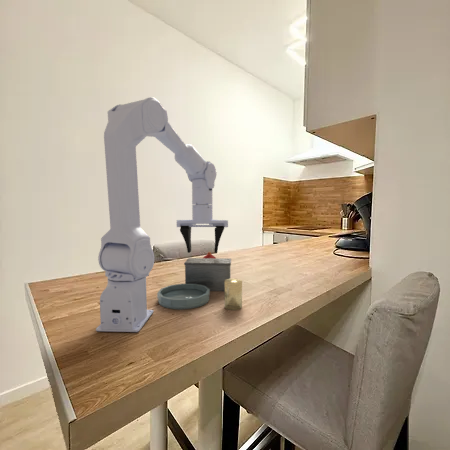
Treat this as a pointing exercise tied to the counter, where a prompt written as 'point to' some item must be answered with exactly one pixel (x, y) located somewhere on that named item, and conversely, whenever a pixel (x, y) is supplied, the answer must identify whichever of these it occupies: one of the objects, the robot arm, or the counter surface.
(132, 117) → the robot arm
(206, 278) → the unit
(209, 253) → the onion
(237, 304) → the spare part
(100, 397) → the counter surface
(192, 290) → the plate
